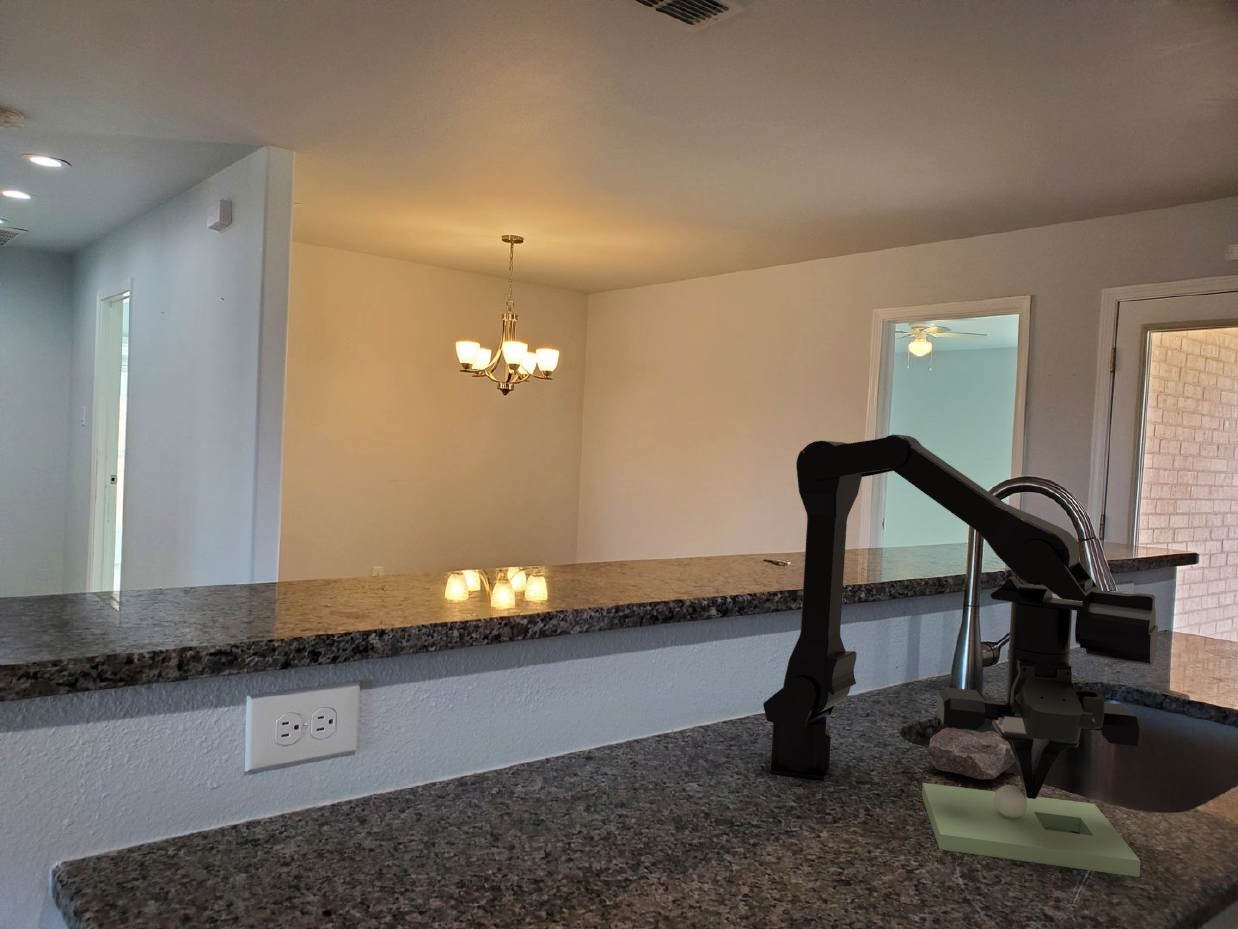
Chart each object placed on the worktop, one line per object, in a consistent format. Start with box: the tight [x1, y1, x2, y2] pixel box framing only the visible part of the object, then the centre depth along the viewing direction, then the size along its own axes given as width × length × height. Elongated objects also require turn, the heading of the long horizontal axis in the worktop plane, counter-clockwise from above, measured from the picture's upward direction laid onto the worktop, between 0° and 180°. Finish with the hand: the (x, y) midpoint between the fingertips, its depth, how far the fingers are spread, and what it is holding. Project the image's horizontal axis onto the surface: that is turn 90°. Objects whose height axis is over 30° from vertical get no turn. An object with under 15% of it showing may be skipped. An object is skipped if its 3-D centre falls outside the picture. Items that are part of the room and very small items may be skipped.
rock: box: [928, 727, 1016, 780], centre depth 111 cm, size 8×11×5 cm
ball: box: [994, 784, 1027, 818], centre depth 94 cm, size 3×3×3 cm
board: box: [921, 782, 1141, 878], centre depth 94 cm, size 18×14×2 cm
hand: (1030, 797), depth 94 cm, fingers closed
